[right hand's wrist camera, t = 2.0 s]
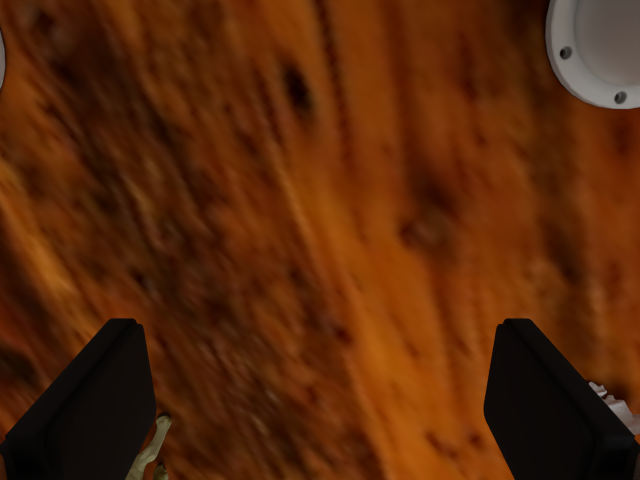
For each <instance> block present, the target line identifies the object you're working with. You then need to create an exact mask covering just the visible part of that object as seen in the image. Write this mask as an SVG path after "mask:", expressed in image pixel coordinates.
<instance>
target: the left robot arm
mask: <svg viewBox="0 0 640 480" xmlns="http://www.w3.org/2000/svg"><path fill="white" fill-rule="evenodd" d="M545 39H546V46H547V53H548V57H549V60H550V63H551V66H552V69H553V71H554V73H555V74H556V76H557V78H558V79H559V81H560V82H561V84H562V85H563V86H564V87H565V88H566V89H567V90H568V91H569V92H570V93H571V94H572V95H574V96H575V97H577V98H579V99H580V100H582V101H583V102H586V103H589V104H592V105H594V106H597V107H604V108H612V109H631V108H636V107H640V0H550V4H549V9H548V13H547V18H546V34H545ZM561 50H562V56H561V57H560V51H561ZM614 97H615V99H614Z"/></svg>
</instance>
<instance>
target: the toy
mask: <svg viewBox="0 0 640 480" xmlns="http://www.w3.org/2000/svg"><path fill="white" fill-rule="evenodd" d="M171 422H172V421H171V418H170V417H169V416H168V415H167V414H162V415H160V416H159V417H158V418H157V420H156V423H157V431H156V434H155V436H154V438H153V440H152V441H151V443H150V444H149V445H148V446H147V447H146V448H145V449H144V450H143V451H142V452H141V453H139V454H138V455H137V457H136V459H135V461H134V463H133V465H132V467H131V469H130V471H129V473H128V475H127V477H126V479H125V480H143V472H144V469H145V466H146V464H147V463H148V462H151V461H153V460H154V459H155V458H156V456H157V455H158V452H159V450H160V447H161V445H162V443H163V440H164V438H165V435H166V432H167V430H168V429H169V427H170V425H171ZM168 478H169V477H168V473H167V470H166V468H165V467H164V465H163V464H162V463H159V464H158V465H157V466H156V468H155V471H154V473H153V480H168Z"/></svg>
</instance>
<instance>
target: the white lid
mask: <svg viewBox="0 0 640 480" xmlns="http://www.w3.org/2000/svg"><path fill="white" fill-rule="evenodd" d="M589 385H590V386H591V387H592V389H593V390H594V391H595V392H596V393H597V394H598V395H599V396H600V397H602V396H604V395H605V394H606V393H607V391H606V390H605V389H604V387H603V385H601V386H597V385H596V384H594V383H593V382H590V383H589ZM601 399H602V398H601ZM602 400H603V399H602ZM603 401H604V402H605V403H606V404H607V405H608V406H609V408H610V409H611V410H612V411H613V412H614V413H615V414H616V415H617V416H618V418H619V419H620V420H621V421H622V422H623V423H624V424H625V425H626V427H627V428H628V429H629V430H630V431H631V432H632V433H633V434H634V435H636V434H639V433H640V414H632V413H631V412H630V411H629V409H628V407H627V405H626V404H625V401H624V400H615V399H614V397H613V395H608V396H607V398H606V399H605V400H603Z"/></svg>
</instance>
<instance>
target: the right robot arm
mask: <svg viewBox="0 0 640 480" xmlns="http://www.w3.org/2000/svg"><path fill="white" fill-rule="evenodd" d="M4 72H5V50H4V45H3V40H2V36H1V31H0V89H1V86H2V83H3V78H4ZM155 416H156V400H155V394H154V388H153V382H152V376H151V370H150V364H149V358H148V352H147V346H146V340H145V334H144V328H143V326H142V325H141V324H137V322H136V320H135V319H133V318H113V319H110V320H108V321H107V323H106V324H105V325H104V326H103V327H102V328H101V329H100V330H99V332H98V333H97V334H96V335H95V336H94V337H93V338H92V339H91V340H90V342H89V343H88V344H87V345H86V346H85V347H84V348H83V349H82V351H81V352H80V353H79V354H78V355H77V356H76V357H75V358H74V359H73V361H72V362H71V363H70V364H69V365H68V366H67V367H66V368H65V370H64V371H63V372H62V373H61V374H60V375H59V376H58V377H57V378H56V380H55V381H54V382H53V383H52V384H51V385H50V386H49V387H48V389H47V390H46V391H45V392H44V393H43V394H42V395H41V396H40V397H39V399H38V400H37V401H36V402H35V403H34V404H33V405H32V406H31V408H30V409H29V410H28V411H27V412H26V413H25V414H24V415H23V416H22V418H21V419H20V420H19V421H18V422H17V423H16V424H15V425H14V427H13V428H12V429H11V430H10V431H9V432H8V433H7V434H6V435H5V438H6V439H5V440H4V441H3V443H2V444H1V445H0V480H125V479H126V477H127V475H128V473H129V471H130V469H131V467H132V465H133V463H134V461H135V459H136V457H137V454H138V452H139V450H140V448H141V446H142V444H143V442H144V440H145V438H146V436H147V434H148V432H149V430H150V428H151V426H152V424H153V422H154V420H155ZM484 416H485V420H486V422H487V424H488V426H489V428H490V430H491V432H492V434H493V436H494V438H495V440H496V442H497V444H498V446H499V448H500V450H501V452H502V454H503V457H504V459H505V461H506V463H507V465H508V467H509V469H510V471H511V473H512V475H513V477H514V479H515V480H640V445H639V444H638V443H637V441H636V440H635V439H634V438H635V435H634V434H633V433H632V432H631V431H630V430H629V429H628V428H627V427H626V425H625V424H624V423H623V422H622V421H621V420H620V419H619V418H618V416H617V415H616V414H615V413H614V412H613V411H612V410H611V409H610V408H609V406H608V405H607V404H606V403H605V402H604V401H603V400H602V399H601V397H600V396H599V395H598V394H597V393H596V392H595V391H594V390H593V389H592V387H591V386H590V385H589V384H588V383H587V382H586V381H585V380H584V378H583V377H582V376H581V375H580V374H579V373H578V372H577V371H576V370H575V368H574V367H573V366H572V365H571V364H570V363H569V362H568V361H567V359H566V358H565V357H564V356H563V355H562V354H561V353H560V352H559V351H558V349H557V348H556V347H555V346H554V345H553V344H552V343H551V342H550V340H549V339H548V338H547V337H546V336H545V335H544V334H543V333H542V332H541V330H540V329H539V328H538V327H537V326H536V325H535V324H534V323H533V321H532V320H530V319H527V318H507V319H505V320H504V322H503V324H499V325H498V326H497V328H496V334H495V340H494V346H493V352H492V358H491V364H490V370H489V376H488V382H487V388H486V394H485V400H484Z"/></svg>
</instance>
